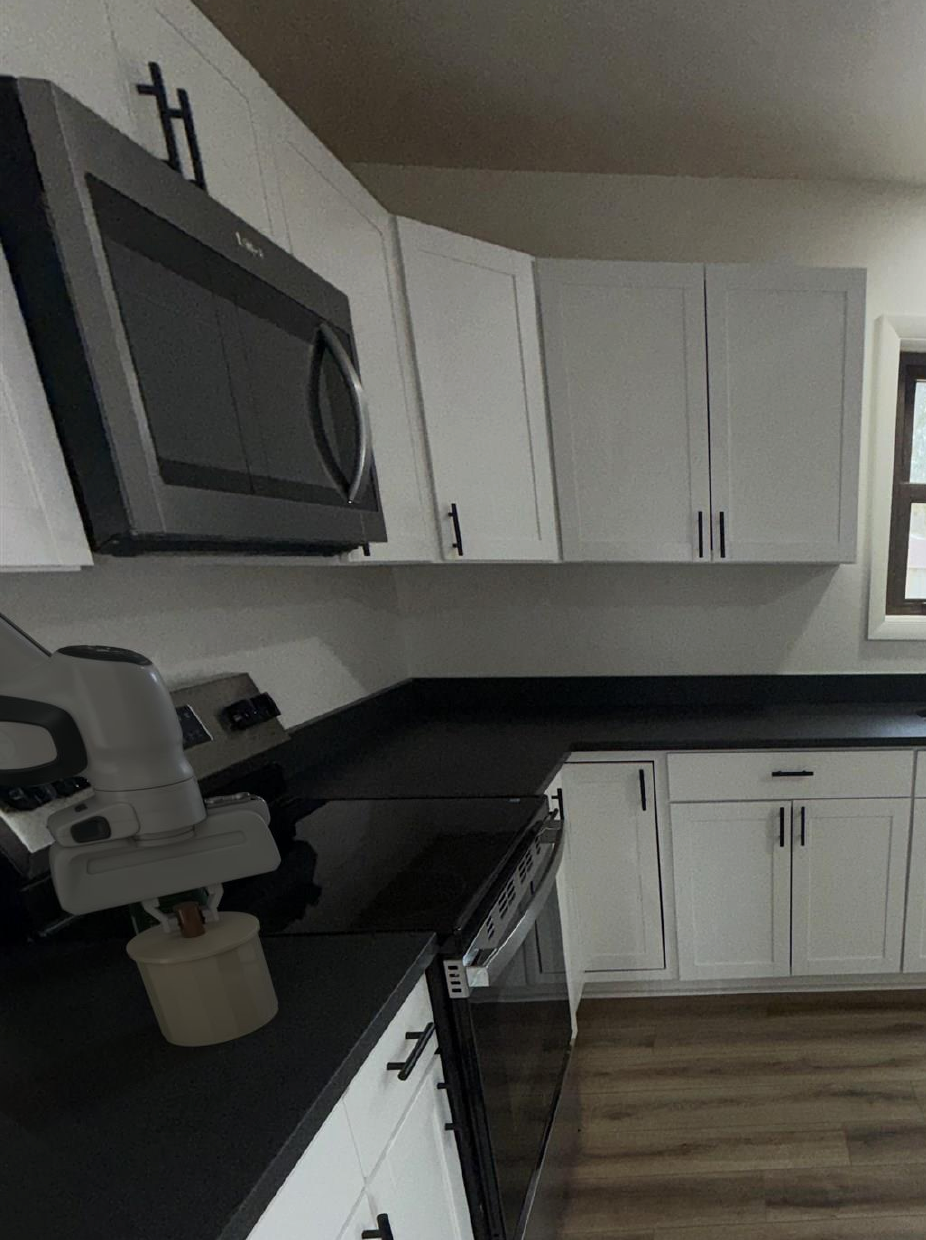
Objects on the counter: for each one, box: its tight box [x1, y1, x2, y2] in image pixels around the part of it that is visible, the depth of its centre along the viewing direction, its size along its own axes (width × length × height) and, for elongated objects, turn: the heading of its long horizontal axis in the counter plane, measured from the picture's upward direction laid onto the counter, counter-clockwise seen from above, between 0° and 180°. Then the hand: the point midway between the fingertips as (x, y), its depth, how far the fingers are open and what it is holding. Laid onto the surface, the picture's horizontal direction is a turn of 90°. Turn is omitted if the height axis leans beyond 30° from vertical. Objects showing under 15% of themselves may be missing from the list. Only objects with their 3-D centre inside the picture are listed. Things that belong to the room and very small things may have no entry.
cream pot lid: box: [125, 901, 261, 964], centre depth 93 cm, size 13×13×5 cm
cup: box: [135, 932, 279, 1047], centre depth 96 cm, size 12×12×11 cm
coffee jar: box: [127, 887, 208, 936], centre depth 116 cm, size 10×8×19 cm
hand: (191, 926), depth 93 cm, fingers closed on cream pot lid, 2 cm apart
